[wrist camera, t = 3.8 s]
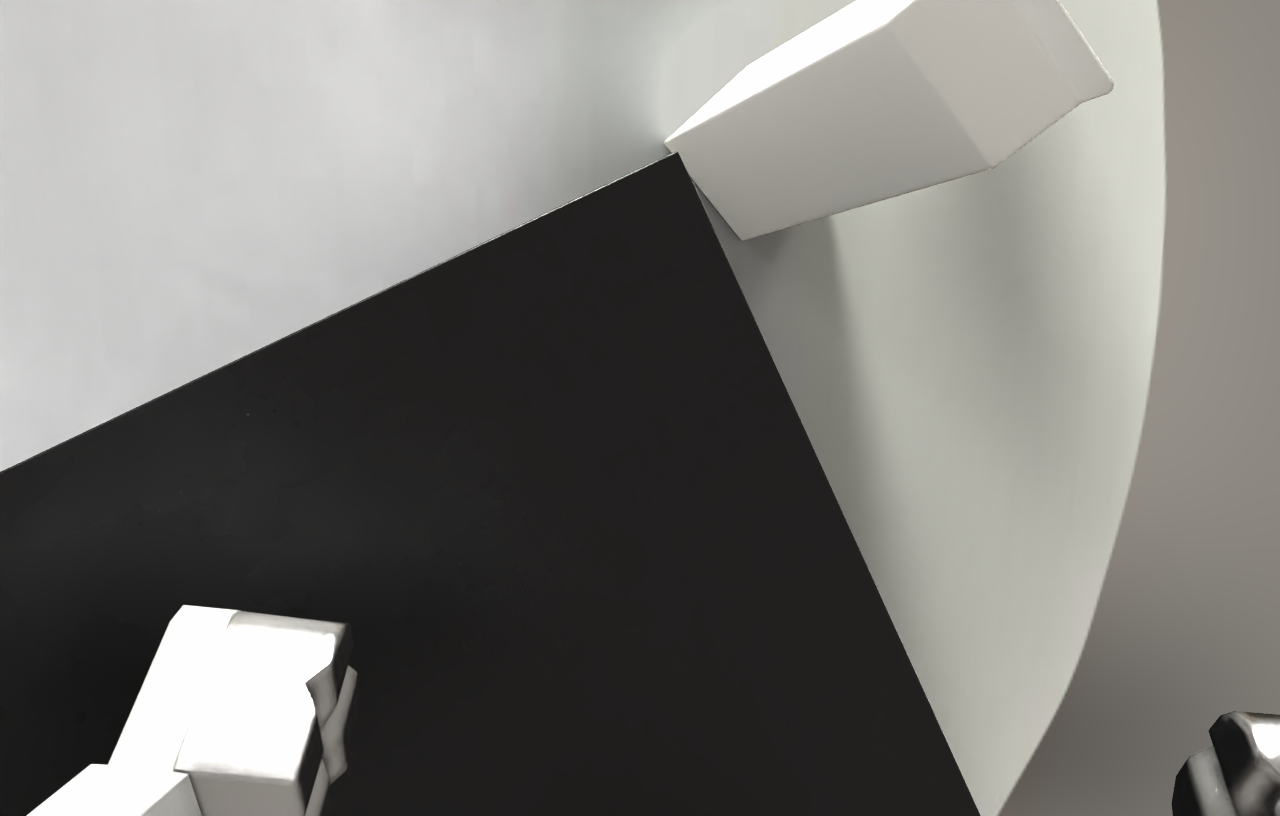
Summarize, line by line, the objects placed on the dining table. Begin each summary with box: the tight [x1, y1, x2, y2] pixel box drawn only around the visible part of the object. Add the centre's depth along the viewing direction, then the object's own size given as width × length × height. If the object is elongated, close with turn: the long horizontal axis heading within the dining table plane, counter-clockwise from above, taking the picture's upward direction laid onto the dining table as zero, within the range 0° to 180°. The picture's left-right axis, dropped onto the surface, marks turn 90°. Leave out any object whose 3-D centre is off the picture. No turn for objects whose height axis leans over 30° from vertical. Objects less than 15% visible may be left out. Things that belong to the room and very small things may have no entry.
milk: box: [664, 0, 1114, 241], centre depth 46 cm, size 6×6×22 cm
